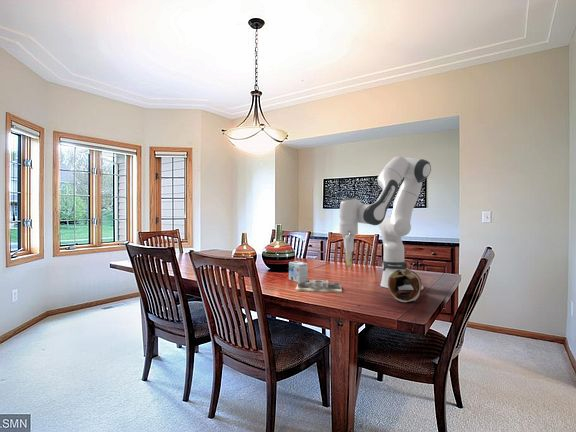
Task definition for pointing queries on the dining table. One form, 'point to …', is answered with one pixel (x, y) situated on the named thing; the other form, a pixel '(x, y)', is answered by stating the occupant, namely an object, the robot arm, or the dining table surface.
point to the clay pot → (401, 279)
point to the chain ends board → (318, 286)
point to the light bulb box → (298, 271)
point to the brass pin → (348, 261)
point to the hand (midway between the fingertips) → (348, 258)
